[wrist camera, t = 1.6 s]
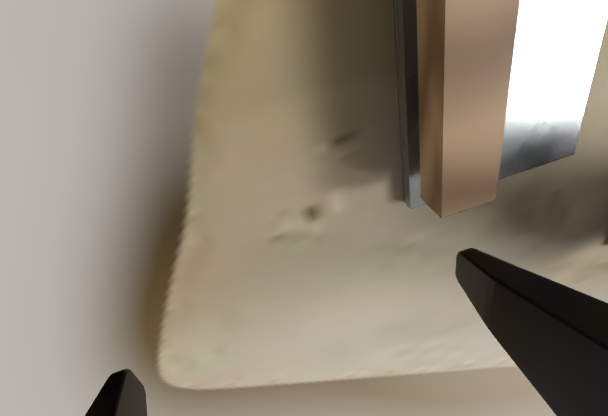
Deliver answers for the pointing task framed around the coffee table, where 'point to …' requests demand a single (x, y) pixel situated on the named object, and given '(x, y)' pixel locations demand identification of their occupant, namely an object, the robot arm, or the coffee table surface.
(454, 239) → the coffee table surface
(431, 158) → the bar
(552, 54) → the chassis lid
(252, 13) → the coffee table surface
